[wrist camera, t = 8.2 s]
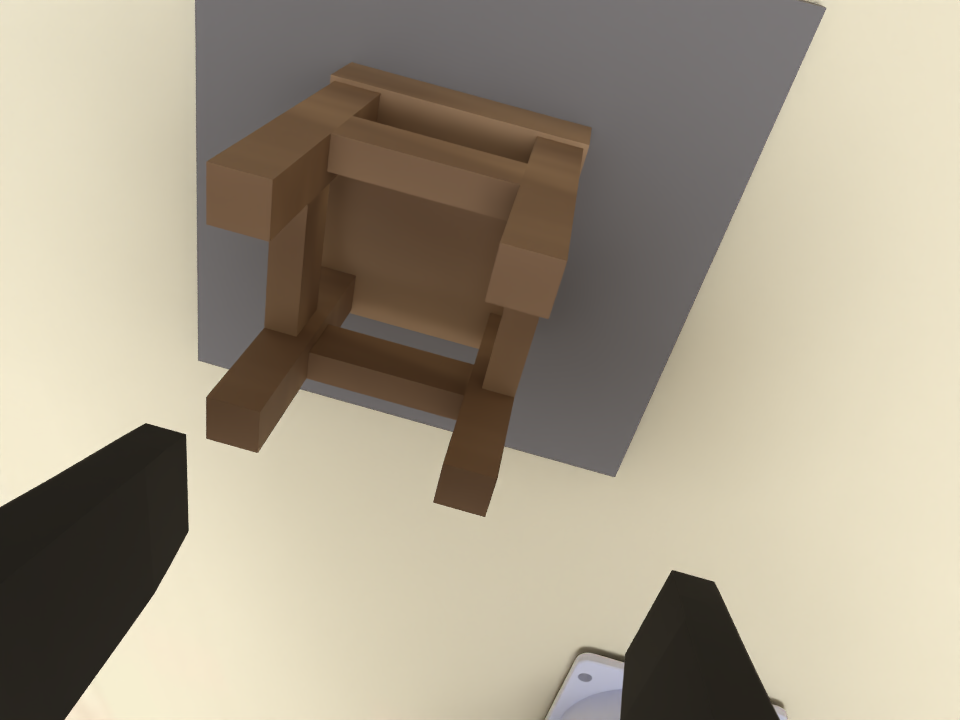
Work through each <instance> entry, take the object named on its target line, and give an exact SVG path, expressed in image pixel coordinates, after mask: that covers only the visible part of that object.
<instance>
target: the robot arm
mask: <svg viewBox="0 0 960 720" xmlns="http://www.w3.org/2000/svg"><path fill="white" fill-rule="evenodd" d="M188 531H189V526H188V489H187V451H186V434H183V433H179V432H176V431H172V430H168V429H165V428H161V427H158V426H154V425H150V424H147V423H145V424H144V425H142V426H140V427H138V428H136V429H135V430H133V431H131V432H129V433H128V434H126V435H124V436H122V437H121V438H119V439H117V440H115V441H114V442H112V443H110V444H109V445H107V446H105V447H104V448H102V449H100V450H98V451H97V452H95V453H93V454H92V455H90V456H88V457H87V458H85V459H83V460H82V461H80V462H78V463H76V464H75V465H73V466H71V467H70V468H68V469H66V470H64V471H63V472H61V473H59V474H58V475H56V476H54V477H53V478H51V479H49V480H47V481H46V482H44V483H42V484H40V485H39V486H37V487H35V488H33V489H31V490H30V491H28V492H26V493H24V494H23V495H21V496H19V497H17V498H16V499H14V500H12V501H10V502H8V503H7V504H5V505H3V506H1V507H0V720H65V718H66V717H67V715H68V714H69V713H70V711H71V710H72V708H73V707H74V706H75V704H76V703H77V701H78V700H79V699H80V697H81V696H82V694H83V693H84V692H85V690H86V689H87V688H88V686H89V685H90V683H91V682H92V681H93V679H94V678H95V676H96V675H97V674H98V672H99V671H100V669H101V668H102V667H103V665H104V664H105V662H106V661H107V660H108V658H109V657H110V655H111V654H112V653H113V651H114V650H115V649H116V647H117V646H118V644H119V643H120V642H121V640H122V639H123V637H124V636H125V634H126V633H127V632H128V630H129V629H130V627H131V626H132V625H133V623H134V622H135V620H136V619H137V618H138V616H139V615H140V613H141V612H142V610H143V609H144V608H145V606H146V605H147V603H148V602H149V600H150V599H151V598H152V596H153V595H154V593H155V591H156V590H157V588H158V586H159V584H160V582H161V581H162V579H163V577H164V575H165V574H166V572H167V570H168V568H169V567H170V565H171V563H172V561H173V559H174V557H175V555H176V554H177V552H178V550H179V548H180V546H181V544H182V542H183V540H184V539H185V537H186V535H187V533H188ZM545 720H788V717H787V713H786V711H785V710H784V709H783V708H781V707H779V706H776V705H773V704H772V703H771V701H770V699H769V697H768V695H767V693H766V691H765V688H764V686H763V684H762V682H761V680H760V678H759V676H758V674H757V672H756V670H755V668H754V666H753V663H752V661H751V659H750V657H749V655H748V653H747V651H746V649H745V646H744V644H743V642H742V640H741V638H740V636H739V633H738V631H737V629H736V627H735V625H734V623H733V620H732V618H731V616H730V614H729V612H728V610H727V607H726V605H725V603H724V601H723V599H722V597H721V594H720V592H719V590H718V588H717V586H716V585H715V583H714V582H713V581H709V580H706V579H702V578H699V577H695V576H691V575H688V574H684V573H681V572H677V571H674V570H672V571H671V573H670V575H669V577H668V578H667V580H666V582H665V584H664V586H663V587H662V589H661V591H660V593H659V594H658V596H657V598H656V600H655V602H654V603H653V605H652V607H651V609H650V611H649V612H648V614H647V616H646V618H645V620H644V621H643V623H642V625H641V627H640V629H639V630H638V632H637V634H636V636H635V638H634V639H633V641H632V643H631V645H630V647H629V648H628V650H627V652H626V654H625V662H621V661H618V660H614V659H611V658H607V657H604V656H600V655H597V654H593V653H583V654H580V655H578V656H577V658H576V659H575V661H574V663H573V665H572V667H571V669H570V671H569V673H568V675H567V677H566V679H565V681H564V683H563V685H562V687H561V689H560V691H559V693H558V695H557V697H556V699H555V700H554V702H553V704H552V706H551V708H550V710H549V712H548V714H547V716H546V718H545Z"/></svg>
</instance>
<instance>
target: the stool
mask: <svg viewBox="0 0 960 720" xmlns="http://www.w3.org/2000/svg"><path fill="white" fill-rule="evenodd" d="M591 129H592V128H591V127H588V126H584V125H580V124H577V123H573V122H569V121H566V120H562V119H558V118H555V117H551V116H547V115H544V114H540V113H536V112H533V111H529V110H525V109H522V108H518V107H514V106H511V105H507V104H503V103H500V102H496V101H492V100H489V99H485V98H481V97H478V96H474V95H470V94H467V93H463V92H459V91H456V90H452V89H448V88H445V87H441V86H437V85H434V84H430V83H426V82H423V81H419V80H415V79H412V78H408V77H404V76H401V75H397V74H393V73H390V72H386V71H382V70H379V69H375V68H371V67H368V66H364V65H360V64H357V63H353V62H351V63H349V64H348V65H346V66H344V67H343V68H341V69H339V70H338V71H336V72H334V73H333V74H331V77H330V84H329V85H327V86H326V87H324V88H323V89H321V90H319V91H318V92H316V93H315V94H313V95H311V96H310V97H308V98H307V99H305V100H303V101H302V102H300V103H299V104H297V105H295V106H294V107H292V108H291V109H289V110H288V111H286V112H284V113H283V114H281V115H280V116H278V117H276V118H275V119H273V120H272V121H270V122H268V123H267V124H265V125H264V126H262V127H260V128H259V129H257V130H256V131H254V132H252V133H251V134H249V135H248V136H246V137H245V138H243V139H241V140H240V141H238V142H237V143H235V144H233V145H232V146H230V147H229V148H227V149H225V150H224V151H222V152H221V153H219V154H217V155H216V156H214V157H213V158H211V159H210V160H208V161H206V224H207V225H210V226H214V227H217V228H221V229H225V230H228V231H232V232H235V233H239V234H243V235H246V236H250V237H253V238H257V239H261V240H264V241H268V242H269V249H268V267H267V285H266V304H265V322H264V329H263V330H262V331H261V332H260V333H259V335H258V336H257V337H256V338H255V339H254V341H253V342H252V343H251V344H250V345H249V347H248V348H247V349H246V350H245V351H244V353H243V354H242V355H241V356H240V357H239V359H238V360H237V361H236V362H235V363H234V365H233V366H232V367H231V368H230V369H229V371H228V372H227V373H226V374H225V375H224V377H223V378H222V379H221V380H220V381H219V383H218V384H217V385H216V386H215V387H214V389H213V390H212V391H211V392H210V393H209V395H208V396H207V397H206V439H210V440H214V441H217V442H221V443H224V444H228V445H231V446H235V447H238V448H242V449H246V450H249V451H253V452H256V453H258V452H259V450H260V449H261V447H262V446H263V444H264V443H265V441H266V440H267V438H268V437H269V435H270V433H271V432H272V430H273V429H274V427H275V426H276V424H277V423H278V421H279V420H280V418H281V417H282V415H283V414H284V412H285V411H286V409H287V408H288V406H289V404H290V403H291V401H292V400H293V398H294V397H295V395H296V394H297V392H298V391H299V389H300V388H301V386H302V385H303V383H304V382H305V380H306V379H310V380H314V381H317V382H321V383H325V384H328V385H332V386H335V387H339V388H342V389H346V390H350V391H353V392H357V393H360V394H364V395H367V396H371V397H375V398H378V399H382V400H385V401H389V402H392V403H396V404H400V405H403V406H407V407H410V408H414V409H417V410H421V411H425V412H428V413H432V414H435V415H439V416H442V417H446V418H450V419H453V420H457V421H456V424H455V427H454V431H453V434H452V437H451V440H450V443H449V446H448V450H447V453H446V456H445V459H444V462H443V466H442V470H441V474H440V478H439V482H438V486H437V489H436V493H435V497H434V501H433V502H434V503H437V504H441V505H444V506H448V507H451V508H455V509H458V510H462V511H465V512H469V513H473V514H476V515H480V516H483V517H485V516H486V512H487V509H488V506H489V503H490V500H491V497H492V494H493V491H494V488H495V484H496V481H497V478H498V473H499V468H500V464H501V459H502V454H503V449H504V445H505V440H506V435H507V430H508V426H509V421H510V416H511V411H512V407H513V402H514V397H515V394H516V391H517V388H518V385H519V381H520V378H521V375H522V372H523V369H524V365H525V362H526V359H527V356H528V352H529V349H530V346H531V343H532V340H533V336H534V333H535V330H536V327H537V324H538V320H539V317H542V318H546V319H549V317H550V313H551V310H552V307H553V304H554V301H555V298H556V295H557V292H558V289H559V285H560V282H561V279H562V276H563V273H564V270H565V267H566V264H567V260H568V253H569V246H570V239H571V232H572V225H573V218H574V211H575V204H576V197H577V190H578V183H579V178H580V174H581V171H582V168H583V165H584V161H585V158H586V155H587V152H588V149H589V145H590V137H591ZM349 313H351V314H355V315H358V316H362V317H366V318H369V319H373V320H376V321H380V322H384V323H387V324H391V325H394V326H398V327H402V328H405V329H409V330H412V331H416V332H420V333H423V334H427V335H430V336H434V337H438V338H441V339H445V340H448V341H452V342H455V343H459V344H463V345H466V346H470V347H473V348H477V349H479V351H478V354H477V357H476V360H475V363H474V365H473V364H470V363H466V362H463V361H459V360H455V359H452V358H448V357H445V356H441V355H437V354H434V353H430V352H427V351H423V350H420V349H416V348H412V347H409V346H405V345H402V344H398V343H394V342H391V341H387V340H384V339H380V338H376V337H373V336H369V335H366V334H362V333H358V332H355V331H351V330H348V329H344V328H341V325H342V324H343V322H344V321H345V319H346V318H347V316H348V315H349Z"/></svg>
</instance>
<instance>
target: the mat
mask: <svg viewBox="0 0 960 720" xmlns="http://www.w3.org/2000/svg"><path fill="white" fill-rule="evenodd" d="M825 10H826V8H825V7H823V6H821V5H817V4H814V3H810V2H806V1H802V0H195V29H196V150H197V271H198V361H202V362H205V363H209V364H212V365H216V366H220V367H223V368H227V369H230V368H231V367H232V366H233V365H234V363H235V362H236V361H237V360H238V359H239V357H240V356H241V355H242V354H243V353H244V351H245V350H246V349H247V348H248V347H249V345H250V344H251V343H252V342H253V341H254V339H255V338H256V337H257V336H258V335H259V333H260V332H261V331H262V330H263V329H264V322H265V304H266V285H267V267H268V249H269V242H268V241H264V240H261V239H257V238H253V237H250V236H246V235H243V234H239V233H235V232H232V231H228V230H225V229H221V228H217V227H214V226H210V225H207V224H206V161H208V160H210V159H211V158H213V157H214V156H216V155H217V154H219V153H221V152H222V151H224V150H225V149H227V148H229V147H230V146H232V145H233V144H235V143H237V142H238V141H240V140H241V139H243V138H245V137H246V136H248V135H249V134H251V133H252V132H254V131H256V130H257V129H259V128H260V127H262V126H264V125H265V124H267V123H268V122H270V121H272V120H273V119H275V118H276V117H278V116H280V115H281V114H283V113H284V112H286V111H288V110H289V109H291V108H292V107H294V106H295V105H297V104H299V103H300V102H302V101H303V100H305V99H307V98H308V97H310V96H311V95H313V94H315V93H316V92H318V91H319V90H321V89H323V88H324V87H326V86H327V85H329V84H330V77H331V74H333V73H334V72H336V71H338V70H339V69H341V68H343V67H344V66H346V65H348V64H349V63H351V62H353V63H357V64H360V65H364V66H368V67H371V68H375V69H379V70H382V71H386V72H390V73H393V74H397V75H401V76H404V77H408V78H412V79H415V80H419V81H423V82H426V83H430V84H434V85H437V86H441V87H445V88H448V89H452V90H456V91H459V92H463V93H467V94H470V95H474V96H478V97H481V98H485V99H489V100H492V101H496V102H500V103H503V104H507V105H511V106H514V107H518V108H522V109H525V110H529V111H533V112H536V113H540V114H544V115H547V116H551V117H555V118H558V119H562V120H566V121H569V122H573V123H577V124H580V125H584V126H588V127H591V128H592V129H591V137H590V145H589V149H588V152H587V155H586V158H585V161H584V165H583V168H582V171H581V174H580V178H579V183H578V190H577V197H576V204H575V211H574V218H573V225H572V232H571V239H570V246H569V253H568V260H567V264H566V267H565V270H564V273H563V276H562V279H561V282H560V285H559V289H558V292H557V295H556V298H555V301H554V304H553V307H552V310H551V313H550V317H549V319H546V318H542V317H539V320H538V324H537V327H536V330H535V333H534V336H533V340H532V343H531V346H530V349H529V352H528V356H527V359H526V362H525V365H524V369H523V372H522V375H521V378H520V381H519V385H518V388H517V391H516V394H515V397H514V402H513V407H512V411H511V416H510V421H509V426H508V430H507V435H506V440H505V445H504V446H505V447H509V448H512V449H516V450H519V451H523V452H527V453H530V454H534V455H537V456H541V457H544V458H548V459H552V460H555V461H559V462H562V463H566V464H569V465H573V466H577V467H580V468H584V469H587V470H591V471H594V472H598V473H602V474H605V475H609V476H612V477H615V476H616V474H617V471H618V469H619V467H620V465H621V462H622V460H623V458H624V456H625V454H626V451H627V449H628V447H629V445H630V443H631V440H632V438H633V436H634V434H635V431H636V429H637V427H638V425H639V423H640V420H641V418H642V416H643V414H644V411H645V409H646V407H647V405H648V403H649V400H650V398H651V396H652V394H653V392H654V389H655V387H656V385H657V383H658V380H659V378H660V376H661V374H662V372H663V369H664V367H665V365H666V363H667V360H668V358H669V356H670V354H671V352H672V349H673V347H674V345H675V343H676V341H677V338H678V336H679V334H680V332H681V329H682V327H683V325H684V323H685V321H686V318H687V316H688V314H689V312H690V309H691V307H692V305H693V303H694V301H695V298H696V296H697V294H698V292H699V290H700V287H701V285H702V283H703V281H704V278H705V276H706V274H707V272H708V270H709V267H710V265H711V263H712V261H713V258H714V256H715V254H716V252H717V250H718V247H719V245H720V243H721V241H722V239H723V236H724V234H725V232H726V230H727V227H728V225H729V223H730V221H731V219H732V216H733V214H734V212H735V210H736V207H737V205H738V203H739V201H740V199H741V196H742V194H743V192H744V190H745V187H746V185H747V183H748V181H749V179H750V176H751V174H752V172H753V170H754V168H755V165H756V163H757V161H758V159H759V156H760V154H761V152H762V150H763V148H764V145H765V143H766V141H767V139H768V136H769V134H770V132H771V130H772V128H773V125H774V123H775V121H776V119H777V117H778V114H779V112H780V110H781V108H782V105H783V103H784V101H785V99H786V97H787V94H788V92H789V90H790V88H791V85H792V83H793V81H794V79H795V77H796V74H797V72H798V70H799V68H800V66H801V63H802V61H803V59H804V57H805V54H806V52H807V50H808V48H809V46H810V43H811V41H812V39H813V37H814V34H815V32H816V30H817V28H818V26H819V23H820V21H821V19H822V17H823V15H824V12H825ZM341 328H344V329H348V330H351V331H355V332H358V333H362V334H366V335H369V336H373V337H376V338H380V339H384V340H387V341H391V342H394V343H398V344H402V345H405V346H409V347H412V348H416V349H420V350H423V351H427V352H430V353H434V354H437V355H441V356H445V357H448V358H452V359H455V360H459V361H463V362H466V363H470V364H473V365H474V363H475V360H476V357H477V354H478V351H479V349H477V348H473V347H470V346H466V345H463V344H459V343H455V342H452V341H448V340H445V339H441V338H438V337H434V336H430V335H427V334H423V333H420V332H416V331H412V330H409V329H405V328H402V327H398V326H394V325H391V324H387V323H384V322H380V321H376V320H373V319H369V318H366V317H362V316H358V315H355V314H351V313H349V315H348V316H347V318H346V319H345V321H344V322H343V324H342V325H341ZM300 389H302V390H305V391H309V392H312V393H316V394H320V395H323V396H327V397H330V398H334V399H337V400H341V401H345V402H348V403H352V404H355V405H359V406H362V407H366V408H370V409H373V410H377V411H380V412H384V413H387V414H391V415H395V416H398V417H402V418H405V419H409V420H412V421H416V422H420V423H423V424H427V425H430V426H434V427H437V428H441V429H444V430H448V431H452V432H453V431H454V427H455V424H456V421H457V420H453V419H450V418H446V417H442V416H439V415H435V414H432V413H428V412H425V411H421V410H417V409H414V408H410V407H407V406H403V405H400V404H396V403H392V402H389V401H385V400H382V399H378V398H375V397H371V396H367V395H364V394H360V393H357V392H353V391H350V390H346V389H342V388H339V387H335V386H332V385H328V384H325V383H321V382H317V381H314V380H310V379H306V380H305V382H304V383H303V385H302V386H301V388H300Z"/></svg>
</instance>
